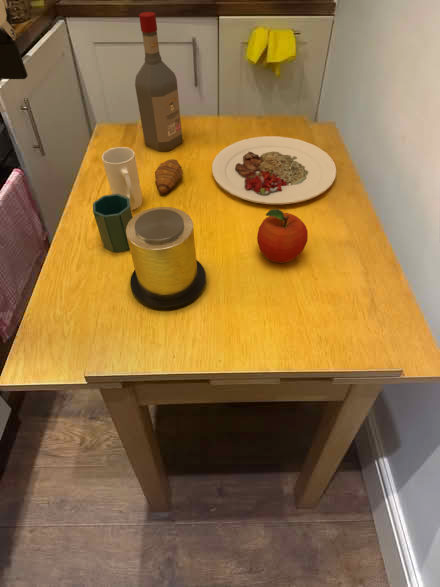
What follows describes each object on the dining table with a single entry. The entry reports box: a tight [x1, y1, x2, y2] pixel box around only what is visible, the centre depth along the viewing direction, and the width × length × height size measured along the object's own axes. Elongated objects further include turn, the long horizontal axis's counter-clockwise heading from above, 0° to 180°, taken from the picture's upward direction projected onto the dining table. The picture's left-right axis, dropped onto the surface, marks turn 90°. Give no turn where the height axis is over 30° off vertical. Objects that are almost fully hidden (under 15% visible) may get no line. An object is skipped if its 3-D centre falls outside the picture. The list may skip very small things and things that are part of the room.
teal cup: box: [92, 193, 134, 254], centre depth 81 cm, size 7×7×9 cm
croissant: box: [154, 158, 183, 196], centre depth 97 cm, size 14×7×5 cm, turn 172°
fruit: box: [256, 208, 309, 264], centre depth 77 cm, size 10×10×10 cm
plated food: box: [211, 135, 337, 205], centre depth 99 cm, size 30×30×3 cm
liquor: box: [134, 11, 183, 153], centre depth 101 cm, size 9×9×30 cm
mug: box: [101, 146, 143, 211], centre depth 88 cm, size 10×7×12 cm, turn 23°
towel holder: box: [126, 206, 207, 312], centre depth 71 cm, size 14×14×14 cm
